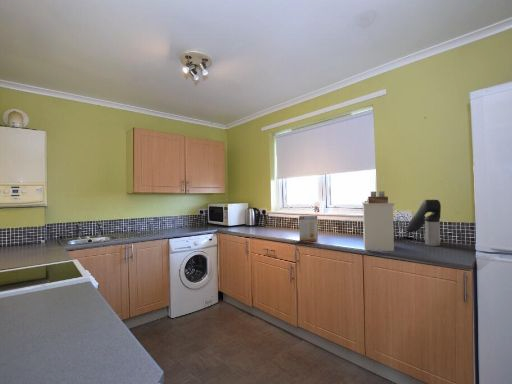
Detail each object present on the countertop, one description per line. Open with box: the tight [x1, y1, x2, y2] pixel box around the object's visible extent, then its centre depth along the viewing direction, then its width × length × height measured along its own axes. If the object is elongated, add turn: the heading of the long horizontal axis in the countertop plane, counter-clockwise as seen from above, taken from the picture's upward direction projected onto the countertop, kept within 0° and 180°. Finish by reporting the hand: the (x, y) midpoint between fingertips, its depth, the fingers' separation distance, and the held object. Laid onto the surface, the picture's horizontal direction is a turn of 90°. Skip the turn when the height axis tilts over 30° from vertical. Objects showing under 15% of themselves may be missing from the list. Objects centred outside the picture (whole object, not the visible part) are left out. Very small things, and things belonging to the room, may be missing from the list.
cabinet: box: [361, 201, 395, 252], centre depth 198 cm, size 24×19×32 cm
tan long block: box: [367, 190, 389, 203], centre depth 203 cm, size 34×12×8 cm, turn 161°
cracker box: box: [298, 214, 319, 242], centre depth 229 cm, size 14×6×21 cm, turn 58°
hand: (374, 199), depth 215 cm, fingers open, 8 cm apart
